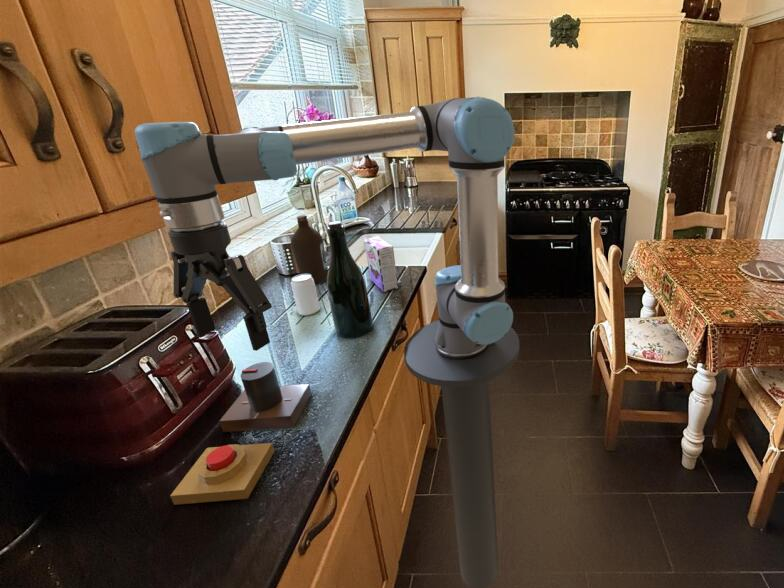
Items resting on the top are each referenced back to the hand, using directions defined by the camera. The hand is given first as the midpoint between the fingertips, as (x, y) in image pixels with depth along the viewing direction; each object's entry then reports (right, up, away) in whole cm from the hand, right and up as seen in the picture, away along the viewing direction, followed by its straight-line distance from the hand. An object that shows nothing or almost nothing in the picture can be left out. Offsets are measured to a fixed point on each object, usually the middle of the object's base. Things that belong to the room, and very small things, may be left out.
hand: (233, 339), depth 71 cm
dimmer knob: (-3, -16, +15) cm, 23 cm away
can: (-16, -3, +58) cm, 61 cm away
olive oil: (-25, +6, +81) cm, 85 cm away
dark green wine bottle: (+3, -7, +48) cm, 48 cm away
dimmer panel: (-3, -19, +16) cm, 26 cm away
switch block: (-2, -25, +1) cm, 25 cm away
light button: (-2, -22, 0) cm, 22 cm away
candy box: (+2, +4, +77) cm, 77 cm away
